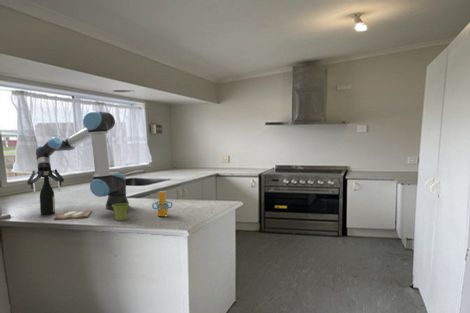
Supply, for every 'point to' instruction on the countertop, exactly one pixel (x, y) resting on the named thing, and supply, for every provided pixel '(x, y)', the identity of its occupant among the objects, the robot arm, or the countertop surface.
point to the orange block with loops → (162, 204)
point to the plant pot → (120, 211)
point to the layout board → (73, 215)
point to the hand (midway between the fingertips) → (47, 191)
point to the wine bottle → (47, 195)
